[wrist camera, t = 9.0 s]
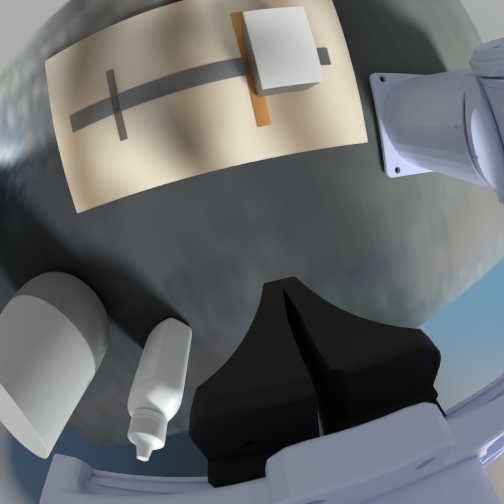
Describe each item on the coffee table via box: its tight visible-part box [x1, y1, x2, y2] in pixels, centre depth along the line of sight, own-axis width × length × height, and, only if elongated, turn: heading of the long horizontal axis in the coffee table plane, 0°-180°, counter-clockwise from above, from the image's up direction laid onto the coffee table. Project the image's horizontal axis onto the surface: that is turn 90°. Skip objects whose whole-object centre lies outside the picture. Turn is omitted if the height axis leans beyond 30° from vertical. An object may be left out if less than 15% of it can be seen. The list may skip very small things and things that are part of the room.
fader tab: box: [242, 6, 325, 97], centre depth 12 cm, size 3×4×3 cm
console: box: [45, 0, 368, 213], centre depth 15 cm, size 20×12×2 cm, turn 102°
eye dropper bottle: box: [128, 318, 192, 461], centre depth 18 cm, size 4×6×12 cm
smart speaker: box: [0, 272, 109, 458], centre depth 15 cm, size 10×9×14 cm
